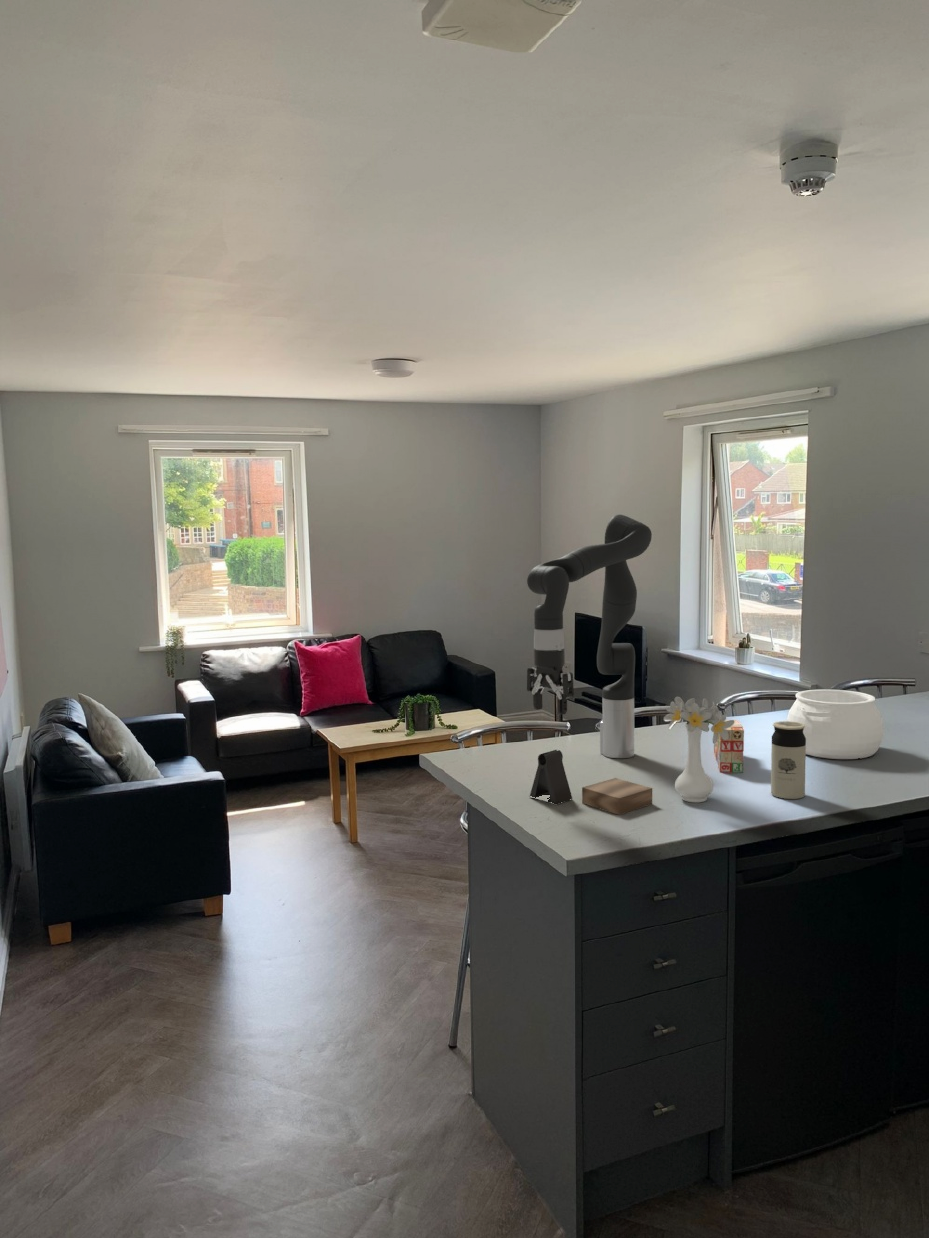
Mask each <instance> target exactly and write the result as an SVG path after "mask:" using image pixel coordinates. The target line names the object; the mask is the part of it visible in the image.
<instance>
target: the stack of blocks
mask: <svg viewBox="0 0 929 1238" xmlns="http://www.w3.org/2000/svg"><path fill="white" fill-rule="evenodd" d="M729 720H730V719H726V720H725V721H729ZM733 720H734V724H733V725H732V726H731V727H729V728H726V729H725V730H726V731H727V732H728V735H729V737H728V739H727V740H724V739H722V737H721V736H720V735H719V734H718V735H719V738H718V740H717V742H716V743H713V755H714V757H715V761H716V763H717V766H718V768H717V769H718V771H719V773H723V774H724V773H725V774H726V773H728V774H729V773H730V774H744V746H745V743H744V741H745V730H744V727H743V724H742V723H741V722H740V719H733ZM725 721H723V722H725Z"/></svg>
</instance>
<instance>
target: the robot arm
mask: <svg viewBox="0 0 929 1238" xmlns="http://www.w3.org/2000/svg"><path fill="white" fill-rule="evenodd" d="M605 528H606V529H605V531H604V533H605V534H604V543H601V544H592V545H585V546H581V547H579V548H577V549H574V550H573V551H571V552H569V553H567V554H565V555H564V556H562V557H559V558H555V559H552V560H549V561H546V562H542V563H540V564H538V565H536V566H534V567H533V568H532V569H531V570H530V571H529V573H528V575H527V578H526V583H527V587H528V588H529V590H530V591H531V592H532V593H534V594H537V595H545V598H544V599H545V600H544V602H543V604H538V605H537V606H535V608H534V613H533V614H534V615H533V616H534V619H533V620H534V633H533V665H534V666H532V667H528V668H527V671H526V674H527V675H526V691H527V692H530V693H531V694H532V700H533V703H532V704H533V709H534V710H542V709H543V692H544V689H545V688H548V689H551V690H552V692H554V693H555V694H556V696H557V698H558V699H557V714H559V715H561V716H562V715H566V714H567V713H568V699H569V698H572V697H574V696H575V693H574V692H575V689H574V677H573V675H574V674H573V673H572V672H564V671H563V667H564V666H565V661H566V660H565V634H564V633H565V632H564V614H563V613H564V610H565V609H564V608H565V606H566V605H565V604H566V601H567V598H568V592H569V588H570V583H574V582H577V581H579V580H581V579H583V578H584V577H586V576H588V575H589V574H592V573H594V572H596V571H597V570H600V569H603V568H604V586H603V592H602V602H601V603H602V609H601V627H600V634H599V640H598V646H597V653H596V667H597V670H598V672H599V673H600V674H602V675H607V676H617V675H620V676H621V677H620V679H618V680H617V681H615V682H614V683H611V684H608V685H605V686H604V687H603V688H602V690H601V691H602V699H601V700H602V702H601V703H602V705H601V706H602V721H600V723H599V739H600V740H599V747H600V749H599V753H600V754H602V755H603V756H604V757H606V758H612V759H627V758H632V757H634V756H635V673H636V671H635V669H636V651H635V647H634V646H633V644H632V643H629V642H620V643H619V642H614V640H615V638H616V636H617V635H618V634H619V632H621V630H623V628H624V627H625V626H626V625H627V624H628V623H629V622H630V620H632V618H633V616H634V615H635V611H636V608H637V607H636V605H637V598H638V596H637V595H638V590H637V586H636V583H635V580H634V578H633V576H632V573H631V570H630V568H629V565H628V563H627V560H631V559H634V558H637V557H639V556H640V555H642V554H643V553H645V552H646V551H647V549H648V548H649V546H650V544H651V542H652V535H653V533H652V530H651V529H650V527H649V526H647V525H646V524H645V523H643V522H640V521H639V520H636V519H634V518H631V517H629V516H627V515H624V514H615V515H613V516H612V517H611V518H610V520H609V522H608V523H607V526H606V527H605Z"/></svg>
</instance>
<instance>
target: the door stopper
mask: <svg viewBox="0 0 929 1238" xmlns="http://www.w3.org/2000/svg"><path fill="white" fill-rule="evenodd" d="M563 756H564V755H563V752H562V751H561V750H559V749H553V750H550V751H547V752H543V753H540V754H539V755H538V756H537V763H538V764H537V769H536V773H535V775H534V779H533V782H532V786H531V790H530V793H529V797H530V796H532V797H535V798H536V797H539V796H542V795H550V797H549V798H550V799H549V798H547V799H549V800H548V802H552V803H554V804H557V805H560V804H562V803H561V802H563V803H565V802H564V801H566V802H567V800H569V801H571V800H573V795H572V792H571V789H570V785H569V781H568V777H567V774H566V770H565V766H564V763H563V762H564V761H563V759H564V757H563ZM570 799H571V800H570ZM559 803H560V804H559ZM554 804H553V805H554Z"/></svg>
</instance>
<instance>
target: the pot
mask: <svg viewBox="0 0 929 1238" xmlns="http://www.w3.org/2000/svg"><path fill="white" fill-rule="evenodd" d="M795 698H796V700H795V701H794V703H793V704H792V705H791V707H790V708H789V711H788V713H787V714H788V715H787V719H786V721H792V722H799V723H802V724H804V725H805V727H804V730H803V734H804V736H805V738H806V755H808V756H811V757H815V758H820V759H821V758H822V759H830V760H859V759H858V758H860V759H865V758H868V757H872V756H874V755H875V753H877V751H878V750H879V748H880V746H881V745H882V743H883V738H884V731H885V730H884V729H885V728H884V721H883V719H882V715H881V713H880V711H879V709H878V707H877V706H876V704H875V703H874V702H875V701H876V697H875V696H874V695H872V694H868V693H865V692H860V691H853V690H843V689H809V690H808V689H807V690H802V691H799V692H796V693H795Z"/></svg>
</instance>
